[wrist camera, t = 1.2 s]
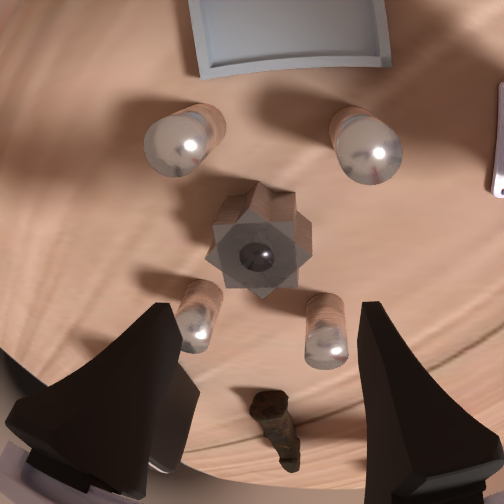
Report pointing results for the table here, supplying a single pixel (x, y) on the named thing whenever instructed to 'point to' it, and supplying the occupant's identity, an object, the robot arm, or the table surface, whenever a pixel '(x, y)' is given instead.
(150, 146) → the cylinder
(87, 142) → the table surface
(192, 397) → the battery charger
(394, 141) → the cylinder
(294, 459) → the dark brown bar
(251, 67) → the tray
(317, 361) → the cylinder
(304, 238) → the nut
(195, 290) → the cylinder
